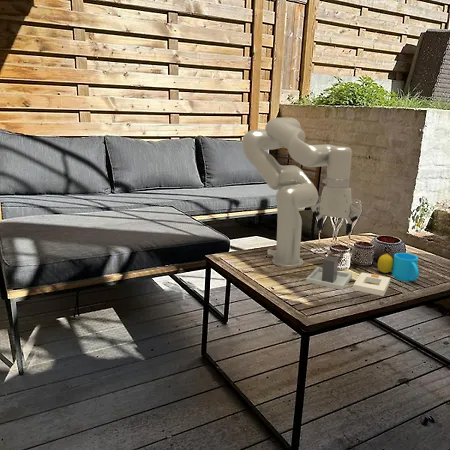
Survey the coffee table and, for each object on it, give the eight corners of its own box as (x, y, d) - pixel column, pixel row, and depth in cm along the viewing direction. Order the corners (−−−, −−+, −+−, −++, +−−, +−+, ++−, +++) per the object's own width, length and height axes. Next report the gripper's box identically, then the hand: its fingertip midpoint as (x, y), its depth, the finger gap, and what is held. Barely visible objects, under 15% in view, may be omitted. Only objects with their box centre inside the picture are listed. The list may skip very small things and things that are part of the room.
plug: (321, 280, 150) (323, 259, 148) (325, 276, 155) (327, 255, 152) (332, 283, 148) (334, 261, 146) (336, 278, 153) (338, 257, 151)
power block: (352, 291, 143) (353, 283, 143) (361, 278, 154) (361, 271, 153) (383, 297, 139) (384, 289, 138) (389, 284, 150) (390, 276, 149)
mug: (387, 273, 160) (389, 253, 157) (407, 272, 161) (409, 252, 159) (405, 286, 148) (408, 264, 146) (426, 284, 150) (429, 263, 147)
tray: (305, 283, 149) (306, 278, 149) (317, 271, 160) (317, 267, 160) (342, 291, 143) (342, 286, 143) (351, 278, 154) (352, 273, 154)
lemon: (393, 277, 156) (395, 256, 154) (377, 275, 157) (379, 255, 155) (390, 271, 161) (393, 252, 159) (375, 270, 162) (377, 250, 160)
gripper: (309, 182, 143) (306, 231, 148) (361, 187, 135) (356, 238, 140) (316, 179, 150) (313, 226, 154) (366, 184, 141) (361, 232, 146)
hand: (333, 231), depth 147 cm, fingers open, 9 cm apart
